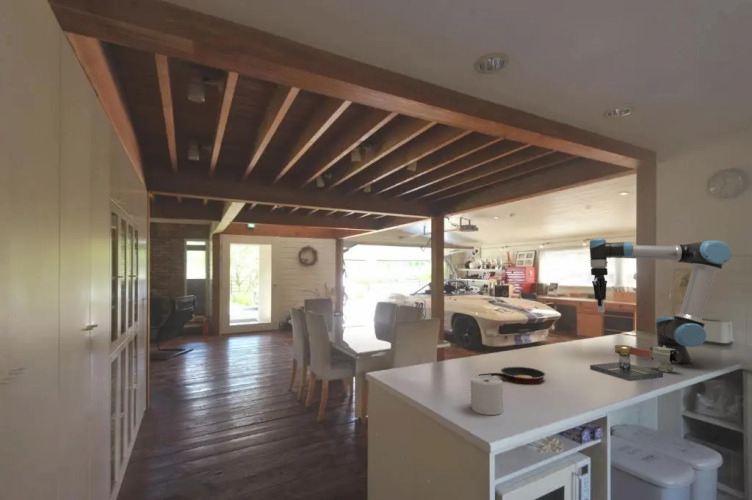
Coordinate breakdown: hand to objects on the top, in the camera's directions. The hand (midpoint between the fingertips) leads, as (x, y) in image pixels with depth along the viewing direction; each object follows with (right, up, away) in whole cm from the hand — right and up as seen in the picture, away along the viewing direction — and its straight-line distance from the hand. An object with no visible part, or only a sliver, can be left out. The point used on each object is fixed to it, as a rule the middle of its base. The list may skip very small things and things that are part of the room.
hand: (601, 312), depth 187 cm
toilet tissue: (-82, -23, -64) cm, 106 cm away
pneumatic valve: (+18, -25, -20) cm, 37 cm away
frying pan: (-60, -25, -31) cm, 72 cm away
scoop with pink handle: (-1, -15, -24) cm, 28 cm away
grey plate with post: (-2, -25, -21) cm, 33 cm away
